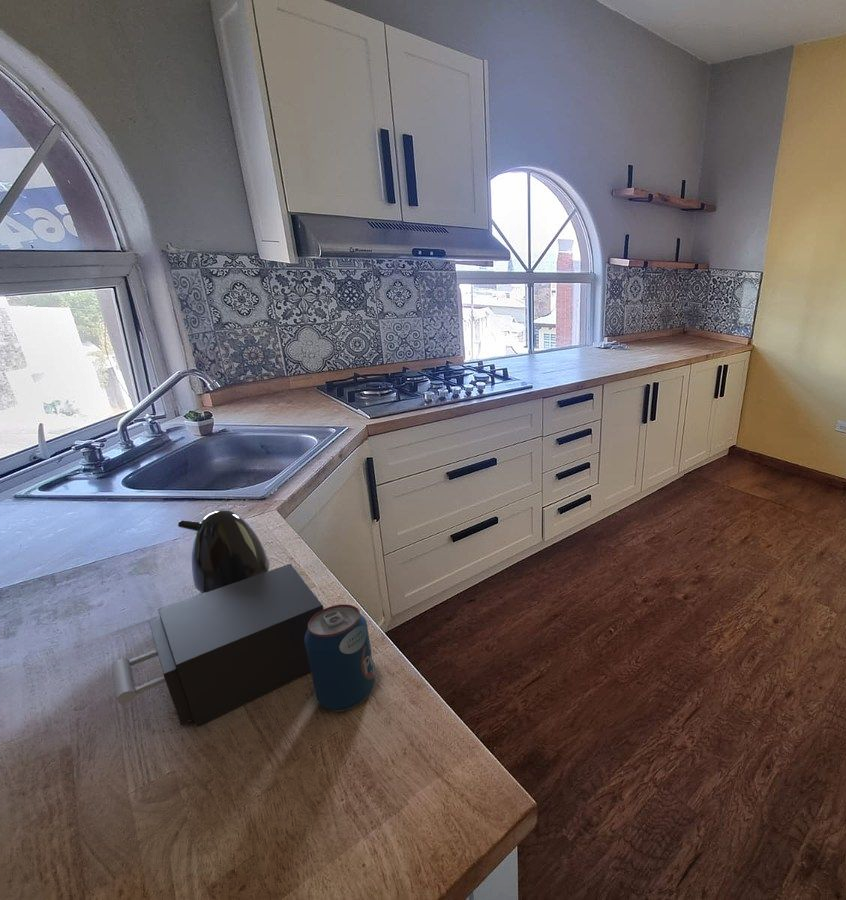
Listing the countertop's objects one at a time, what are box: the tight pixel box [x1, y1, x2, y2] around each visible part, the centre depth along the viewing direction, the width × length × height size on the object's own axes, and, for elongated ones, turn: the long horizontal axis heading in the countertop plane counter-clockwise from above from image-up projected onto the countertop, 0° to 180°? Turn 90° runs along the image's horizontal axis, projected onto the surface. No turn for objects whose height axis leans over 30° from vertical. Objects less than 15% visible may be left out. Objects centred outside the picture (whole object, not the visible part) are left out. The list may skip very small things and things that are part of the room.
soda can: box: [304, 603, 376, 712], centre depth 63 cm, size 7×7×12 cm
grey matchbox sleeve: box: [157, 563, 325, 728], centre depth 68 cm, size 16×14×10 cm
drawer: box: [111, 616, 194, 726], centre depth 65 cm, size 19×12×8 cm, turn 136°
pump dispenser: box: [177, 509, 271, 594], centre depth 81 cm, size 10×10×15 cm
